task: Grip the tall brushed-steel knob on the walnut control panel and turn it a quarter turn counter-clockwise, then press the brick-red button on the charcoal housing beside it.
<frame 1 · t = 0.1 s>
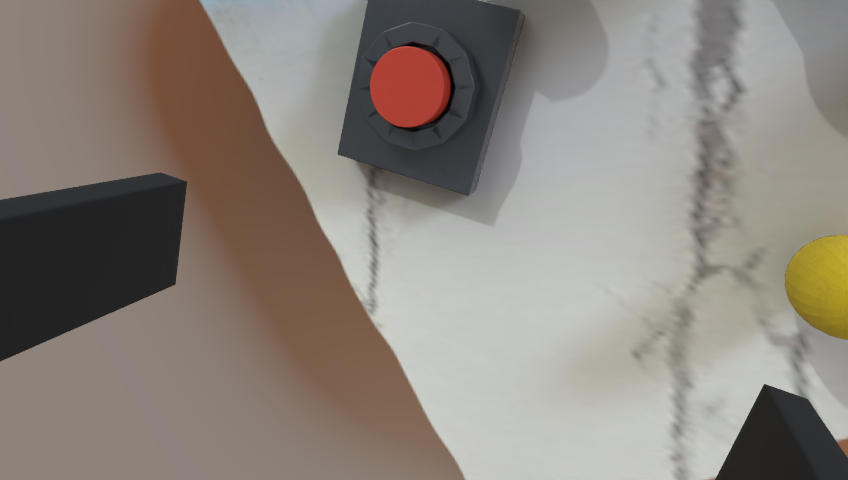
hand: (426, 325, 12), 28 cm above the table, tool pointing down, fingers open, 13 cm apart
start button: (410, 87, 35), point 4 cm above the table, slide at 0.1 cm
button box: (431, 88, 39), on the table
lemon: (819, 264, 35), on the table
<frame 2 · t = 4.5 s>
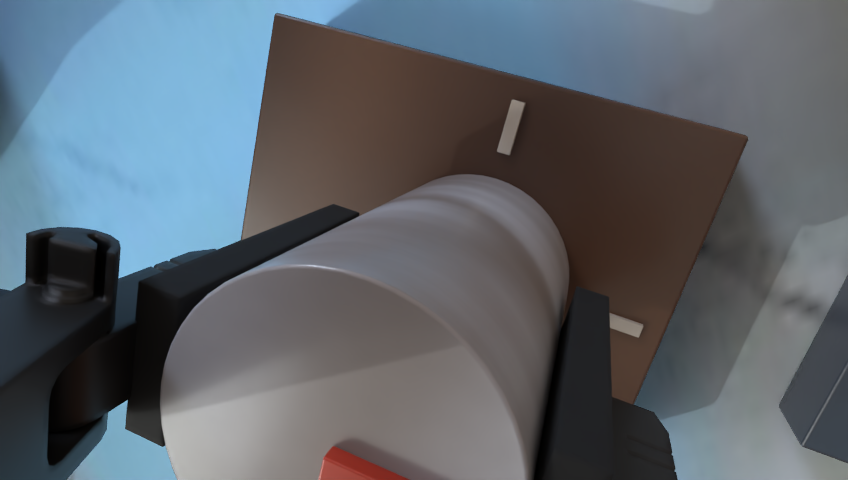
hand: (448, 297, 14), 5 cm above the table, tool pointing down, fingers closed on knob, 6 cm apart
knob: (420, 334, 12), point 8 cm above the table, hinge at 0.0°, touching gripper
control panel: (461, 235, 19), on the table
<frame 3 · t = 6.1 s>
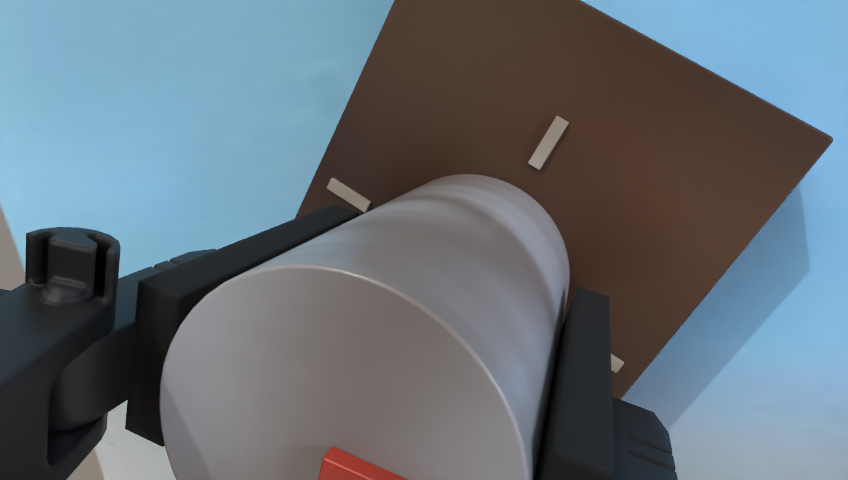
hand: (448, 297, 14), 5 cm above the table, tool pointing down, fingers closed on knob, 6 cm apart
knob: (420, 335, 12), point 8 cm above the table, hinge at 104.3°, touching gripper
control panel: (504, 220, 19), on the table
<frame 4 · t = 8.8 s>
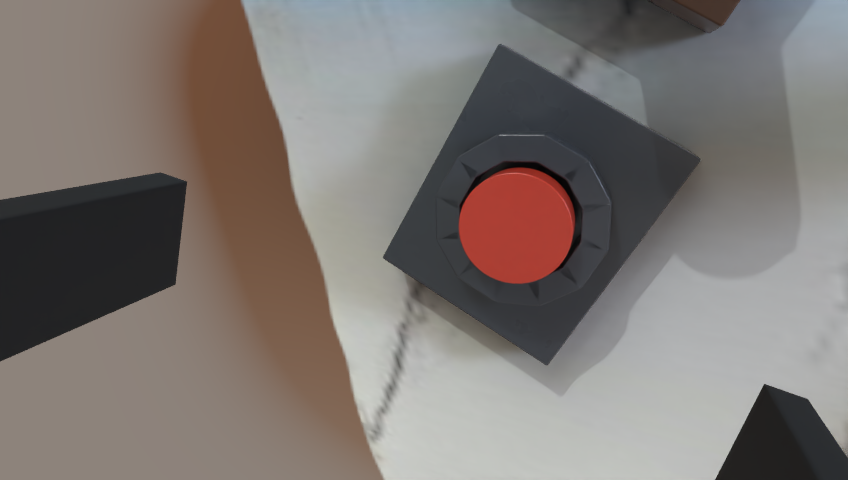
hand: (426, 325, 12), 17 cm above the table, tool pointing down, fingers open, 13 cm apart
start button: (517, 225, 24), point 4 cm above the table, slide at 0.1 cm
button box: (530, 205, 28), on the table
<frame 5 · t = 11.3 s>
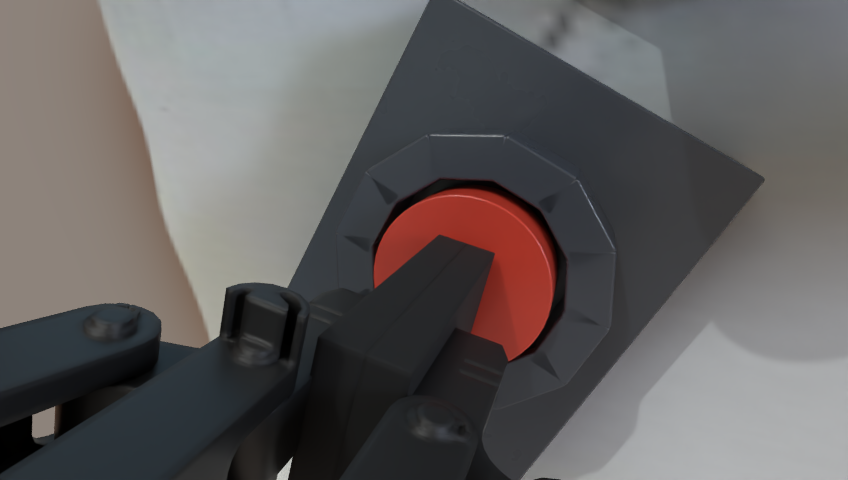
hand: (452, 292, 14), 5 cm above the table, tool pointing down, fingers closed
start button: (466, 275, 15), point 4 cm above the table, slide at -0.6 cm, touching gripper
button box: (492, 242, 19), on the table
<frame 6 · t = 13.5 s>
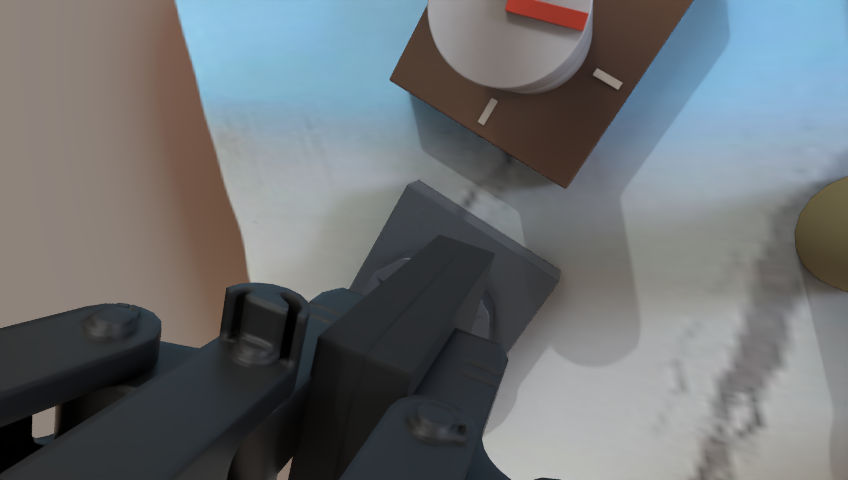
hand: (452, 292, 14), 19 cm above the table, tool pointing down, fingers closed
knob: (521, 21, 23), point 8 cm above the table, hinge at 104.1°
control panel: (548, 24, 30), on the table
button box: (439, 302, 35), on the table
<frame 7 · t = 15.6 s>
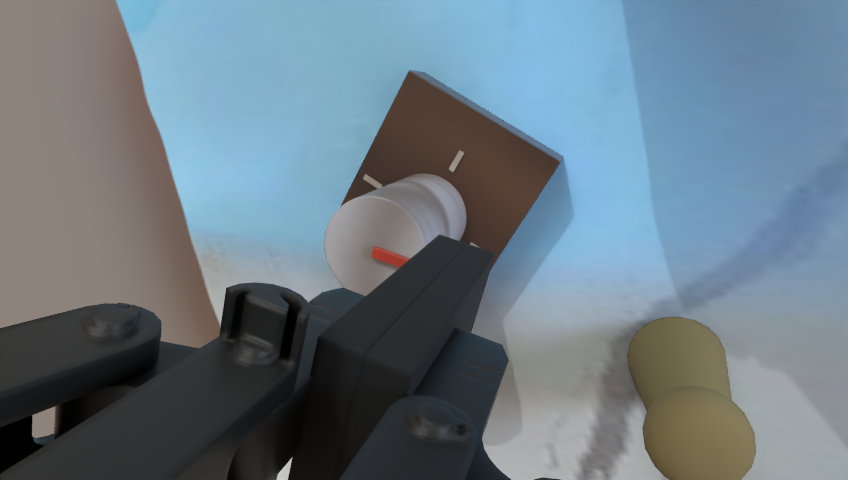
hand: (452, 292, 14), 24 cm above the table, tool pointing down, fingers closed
olive pawn figure: (675, 358, 37), on the table
knob: (401, 231, 33), point 8 cm above the table, hinge at 104.1°
control panel: (444, 195, 39), on the table
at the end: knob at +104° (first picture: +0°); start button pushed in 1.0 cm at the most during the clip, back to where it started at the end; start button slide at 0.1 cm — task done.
